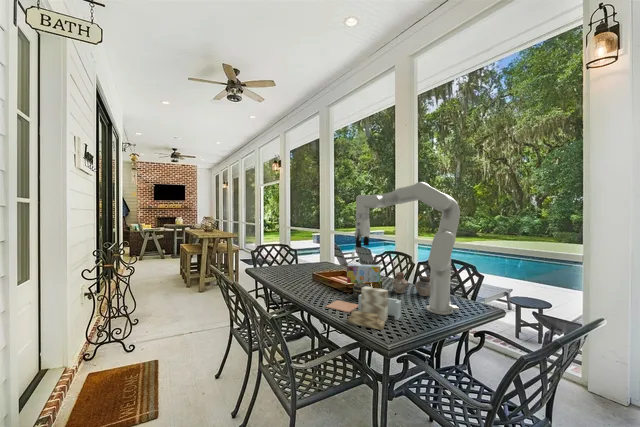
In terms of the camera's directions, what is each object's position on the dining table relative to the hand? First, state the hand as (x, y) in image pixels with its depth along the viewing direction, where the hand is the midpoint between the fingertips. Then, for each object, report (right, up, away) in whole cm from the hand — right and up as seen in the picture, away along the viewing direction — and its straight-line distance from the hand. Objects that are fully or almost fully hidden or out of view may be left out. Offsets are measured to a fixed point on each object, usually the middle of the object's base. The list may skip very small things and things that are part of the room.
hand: (362, 246), depth 174 cm
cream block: (+2, -31, -29) cm, 43 cm away
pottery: (+32, -30, +11) cm, 45 cm away
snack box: (+4, -30, +21) cm, 37 cm away
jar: (0, -30, +1) cm, 30 cm away
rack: (+5, -31, -23) cm, 39 cm away
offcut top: (-4, -29, -37) cm, 47 cm away
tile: (-12, -31, -14) cm, 36 cm away
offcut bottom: (-3, -32, -37) cm, 49 cm away
